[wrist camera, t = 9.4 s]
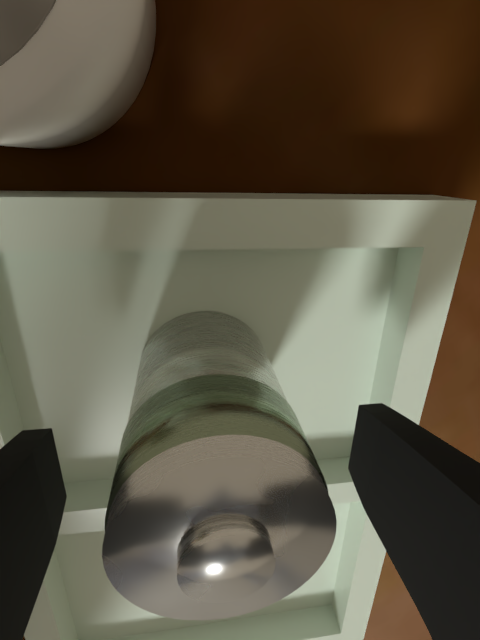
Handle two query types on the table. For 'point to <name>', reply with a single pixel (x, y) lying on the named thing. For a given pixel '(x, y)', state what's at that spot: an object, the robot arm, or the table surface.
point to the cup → (70, 67)
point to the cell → (213, 479)
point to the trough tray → (254, 310)
